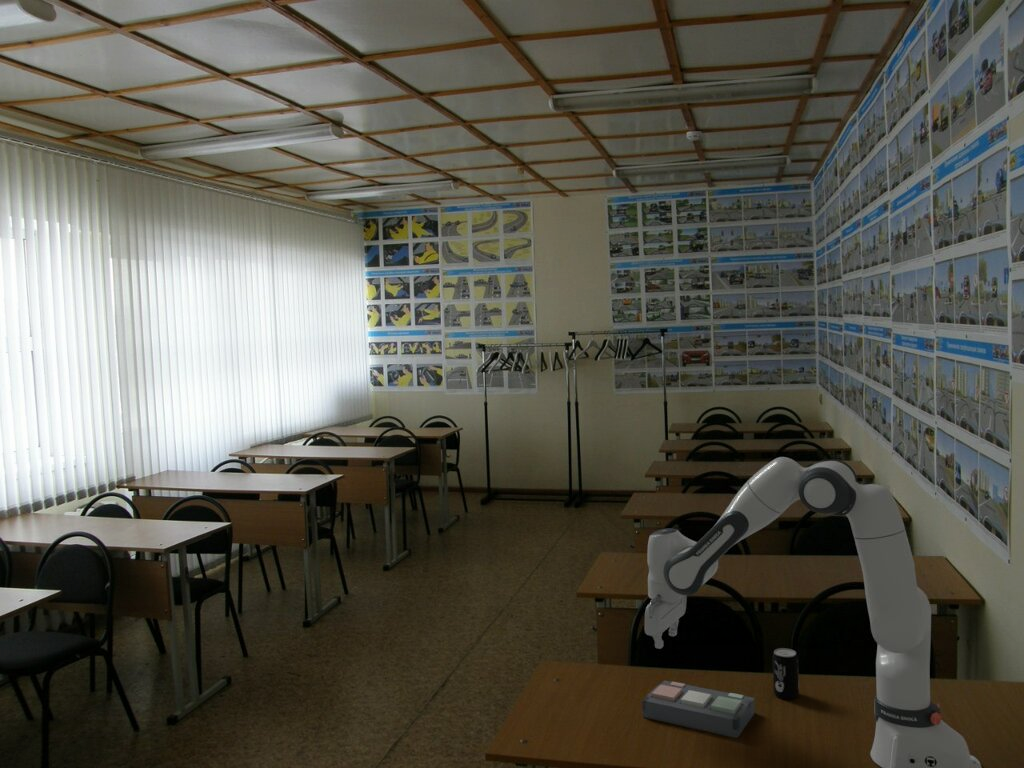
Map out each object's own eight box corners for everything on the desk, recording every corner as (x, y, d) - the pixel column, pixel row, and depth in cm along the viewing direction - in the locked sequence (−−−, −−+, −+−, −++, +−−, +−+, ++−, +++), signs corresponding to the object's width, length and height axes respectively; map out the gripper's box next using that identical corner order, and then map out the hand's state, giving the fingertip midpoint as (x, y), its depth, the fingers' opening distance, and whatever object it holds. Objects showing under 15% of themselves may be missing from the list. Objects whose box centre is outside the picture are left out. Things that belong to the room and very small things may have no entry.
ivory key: (711, 701, 214) (711, 694, 214) (703, 711, 209) (703, 703, 209) (689, 697, 217) (689, 690, 217) (681, 706, 212) (680, 699, 212)
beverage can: (800, 701, 220) (799, 657, 219) (775, 700, 221) (773, 656, 220) (797, 690, 226) (796, 647, 225) (772, 689, 227) (771, 647, 227)
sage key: (741, 708, 210) (741, 700, 210) (734, 717, 205) (734, 710, 205) (718, 703, 213) (718, 695, 213) (711, 712, 208) (710, 705, 208)
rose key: (682, 695, 218) (681, 688, 218) (673, 705, 213) (673, 697, 213) (661, 691, 222) (660, 684, 222) (652, 700, 217) (651, 693, 217)
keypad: (754, 712, 214) (754, 696, 214) (737, 738, 202) (736, 720, 201) (664, 694, 228) (664, 678, 228) (642, 717, 215) (642, 700, 215)
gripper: (661, 603, 205) (662, 657, 206) (690, 581, 222) (691, 630, 223) (637, 600, 209) (639, 653, 210) (668, 577, 226) (669, 627, 227)
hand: (666, 641), depth 217 cm, fingers open, 8 cm apart
